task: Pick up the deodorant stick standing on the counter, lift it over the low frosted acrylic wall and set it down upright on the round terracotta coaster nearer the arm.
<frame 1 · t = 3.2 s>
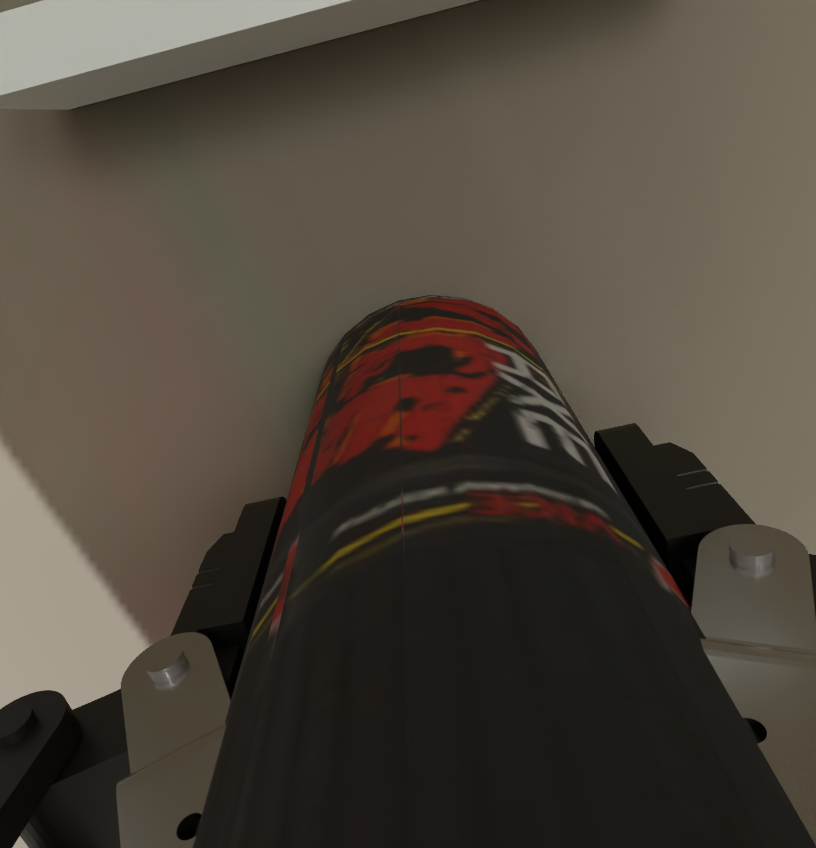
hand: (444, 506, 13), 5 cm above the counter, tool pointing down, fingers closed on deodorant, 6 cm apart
deodorant: (432, 406, 17), on the counter, touching gripper
acrylic wall: (363, 1, 13), on the counter
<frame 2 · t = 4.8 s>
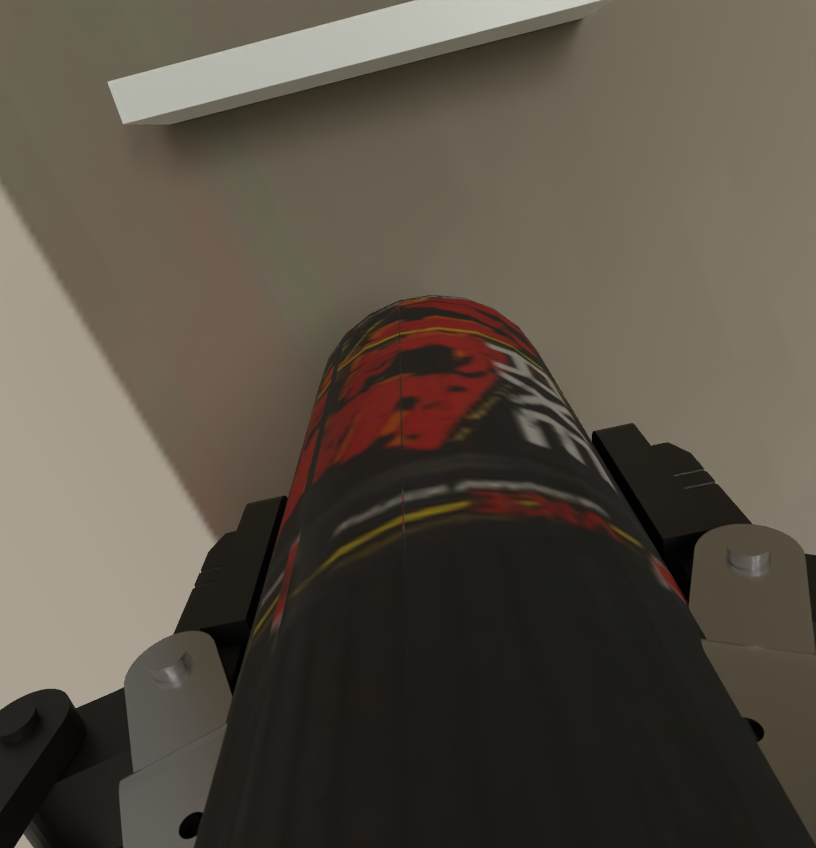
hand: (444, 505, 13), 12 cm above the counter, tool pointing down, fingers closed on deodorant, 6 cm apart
deodorant: (433, 406, 17), point 7 cm above the counter, touching gripper
acrylic wall: (367, 54, 20), on the counter
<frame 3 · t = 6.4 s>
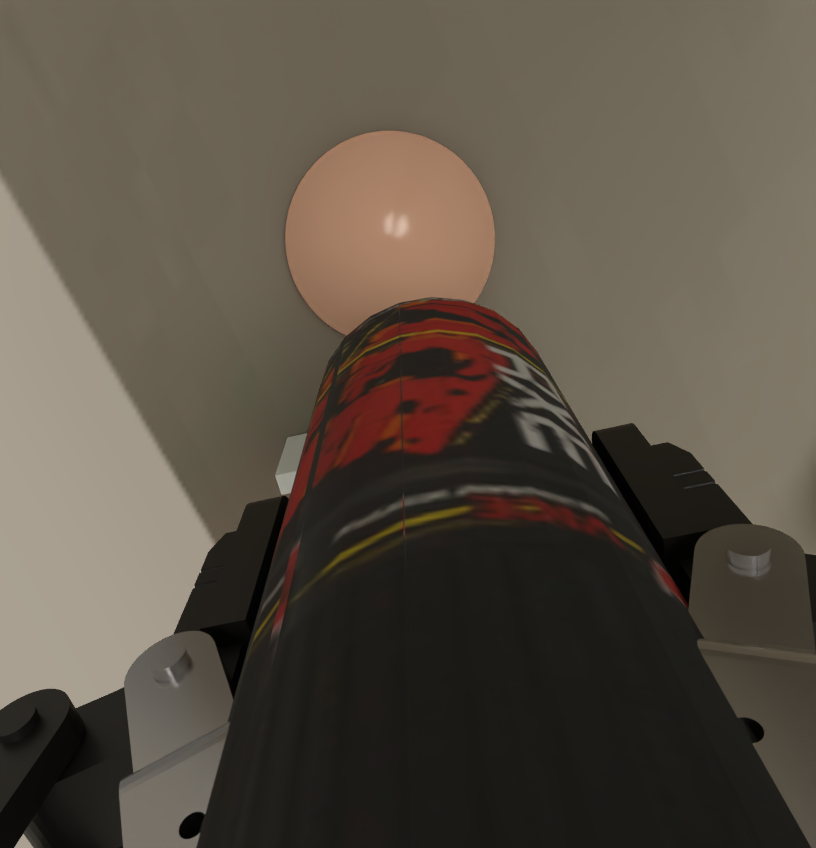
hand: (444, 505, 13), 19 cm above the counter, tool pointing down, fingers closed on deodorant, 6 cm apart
deodorant: (433, 408, 17), point 14 cm above the counter, touching gripper
acrylic wall: (418, 419, 32), on the counter
coaster: (390, 242, 29), on the counter
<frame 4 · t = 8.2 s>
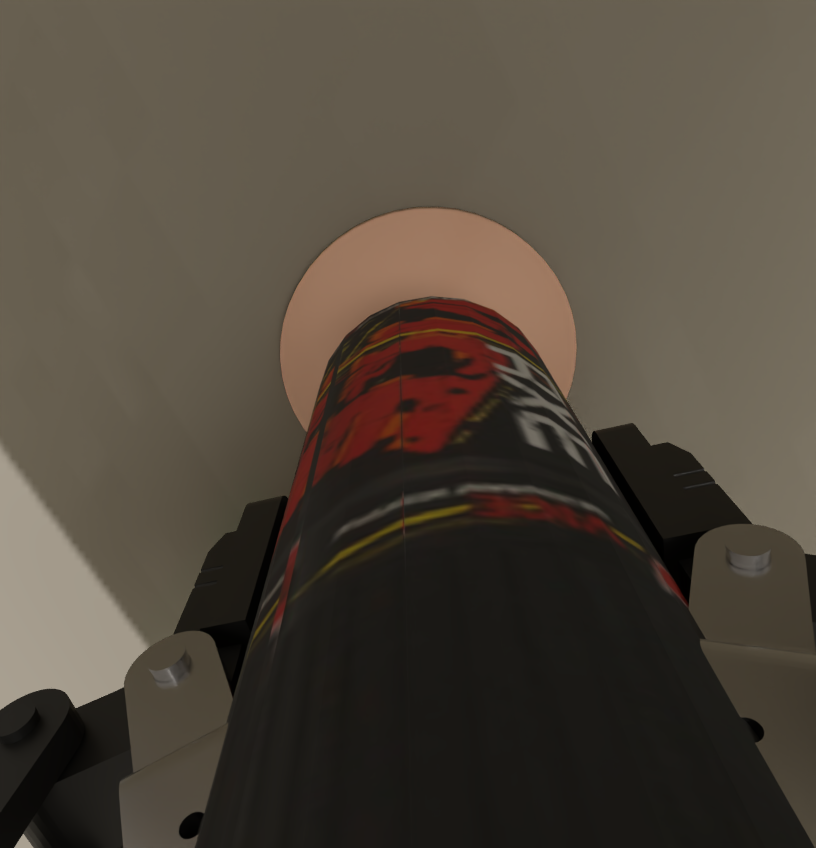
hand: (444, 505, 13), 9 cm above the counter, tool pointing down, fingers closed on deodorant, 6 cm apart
deodorant: (433, 407, 17), point 4 cm above the counter, touching gripper
coaster: (427, 356, 21), on the counter
when the fingers open (6 cm above the counter, at t = 9.6 s): deodorant stays where it is, resting on coaster.
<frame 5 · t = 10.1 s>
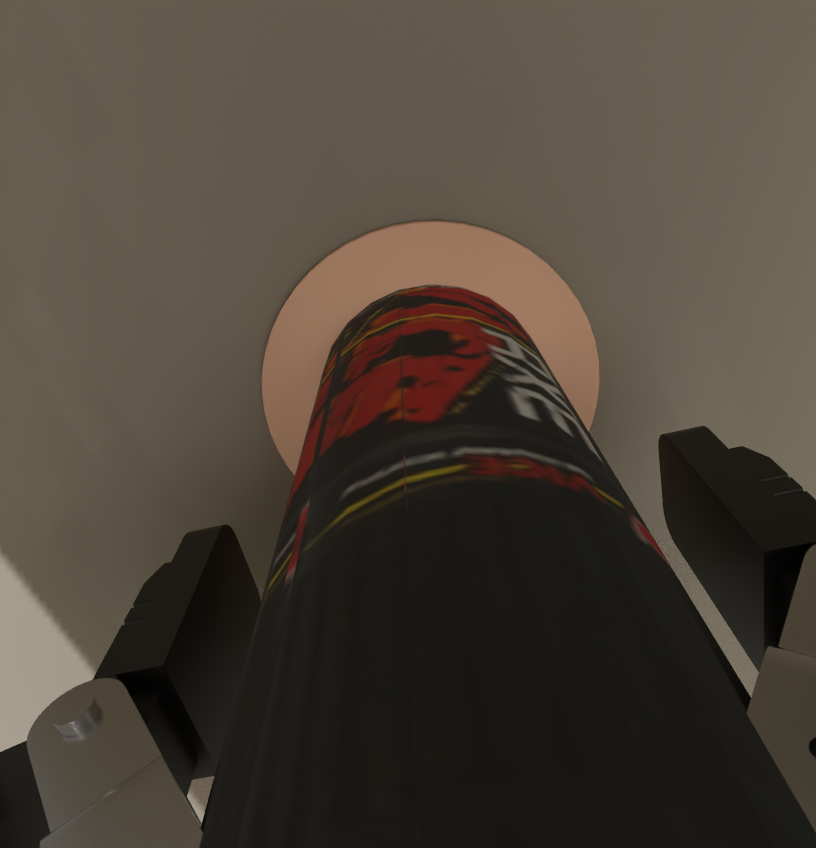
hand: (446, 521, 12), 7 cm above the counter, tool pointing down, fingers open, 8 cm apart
deodorant: (432, 392, 18), resting on coaster
coaster: (430, 388, 18), on the counter
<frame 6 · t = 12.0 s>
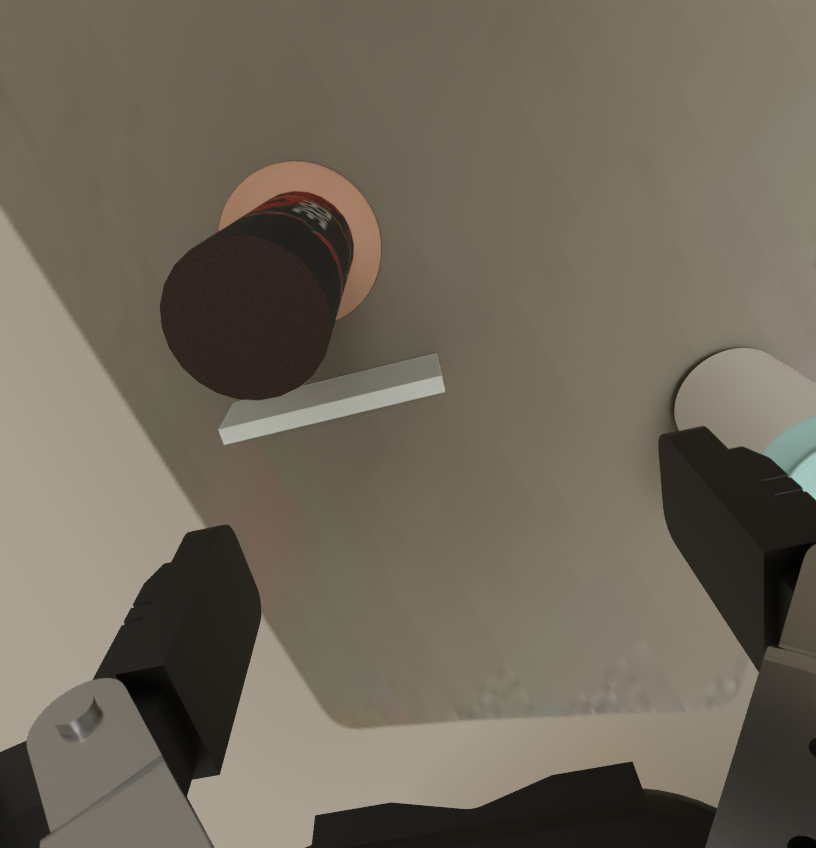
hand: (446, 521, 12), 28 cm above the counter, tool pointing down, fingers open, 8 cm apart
deodorant: (300, 246, 37), resting on coaster
acrylic wall: (336, 385, 41), on the counter
can: (724, 396, 42), on the counter
coaster: (301, 246, 37), on the counter
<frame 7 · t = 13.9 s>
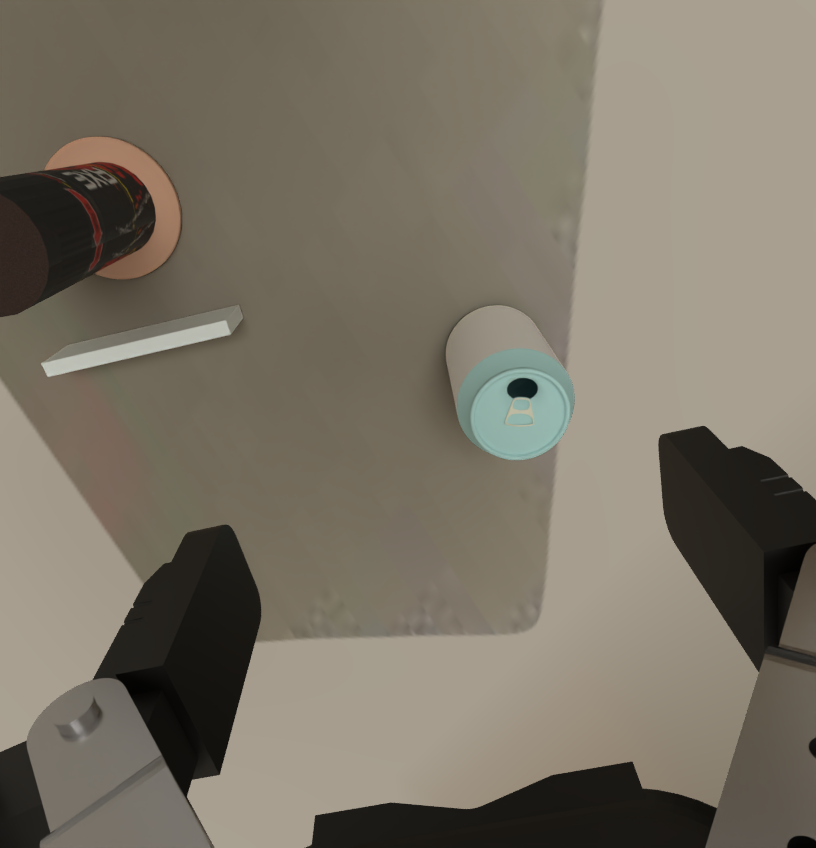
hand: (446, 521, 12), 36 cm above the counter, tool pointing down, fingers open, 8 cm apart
deodorant: (111, 209, 44), resting on coaster
acrylic wall: (155, 331, 48), on the counter
can: (492, 348, 49), on the counter
coaster: (113, 209, 44), on the counter
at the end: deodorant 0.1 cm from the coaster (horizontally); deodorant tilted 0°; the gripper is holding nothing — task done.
